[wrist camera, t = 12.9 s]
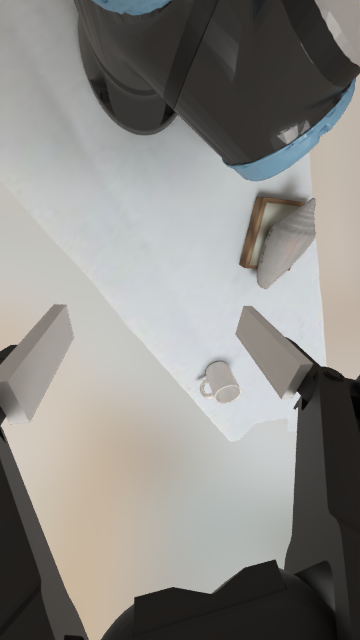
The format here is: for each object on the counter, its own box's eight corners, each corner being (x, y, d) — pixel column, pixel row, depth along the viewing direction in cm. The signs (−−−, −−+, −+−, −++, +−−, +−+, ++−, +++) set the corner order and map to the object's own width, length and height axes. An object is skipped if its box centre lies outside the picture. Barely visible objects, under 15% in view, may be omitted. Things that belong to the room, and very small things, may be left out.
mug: (201, 385, 69) (209, 412, 60) (191, 372, 64) (199, 399, 56) (231, 371, 67) (244, 396, 58) (223, 356, 63) (236, 381, 54)
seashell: (262, 241, 49) (321, 195, 35) (282, 281, 49) (349, 250, 34) (238, 250, 46) (291, 203, 32) (258, 292, 45) (322, 263, 31)
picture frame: (256, 197, 40) (264, 197, 37) (305, 204, 42) (316, 204, 39) (239, 264, 47) (245, 268, 44) (281, 267, 49) (290, 270, 46)
